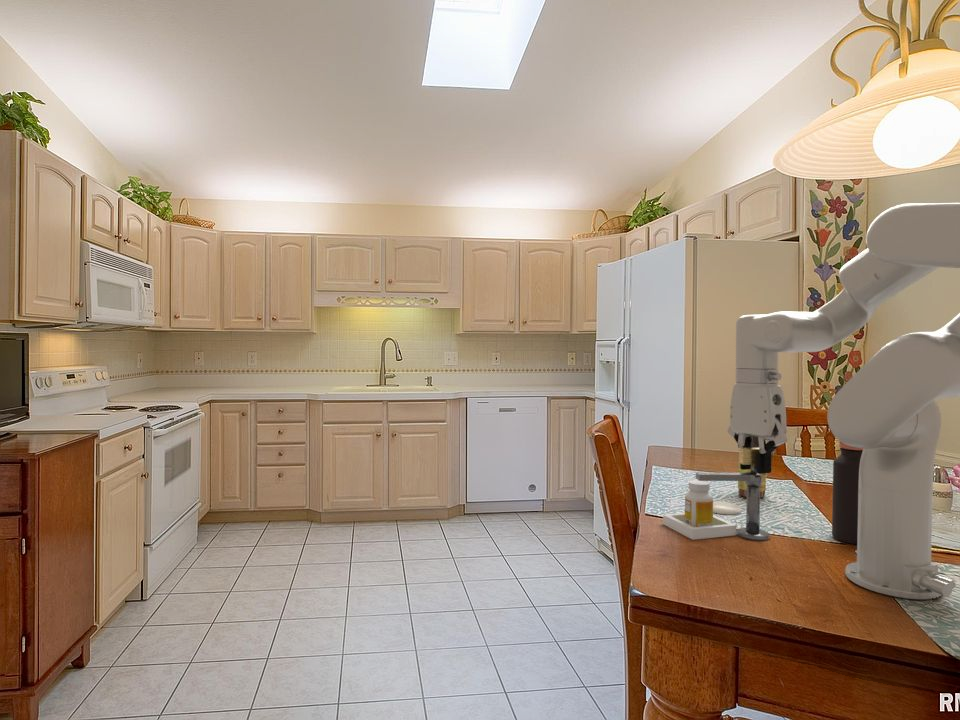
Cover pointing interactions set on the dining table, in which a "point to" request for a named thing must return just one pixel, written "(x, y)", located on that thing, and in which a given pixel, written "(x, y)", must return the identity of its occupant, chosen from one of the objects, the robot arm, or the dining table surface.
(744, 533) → the post
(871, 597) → the dining table surface
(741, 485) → the sauce bottle
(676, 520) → the dock
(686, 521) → the supplement bottle
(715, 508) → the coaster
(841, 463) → the vinegar
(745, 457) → the lever handle
